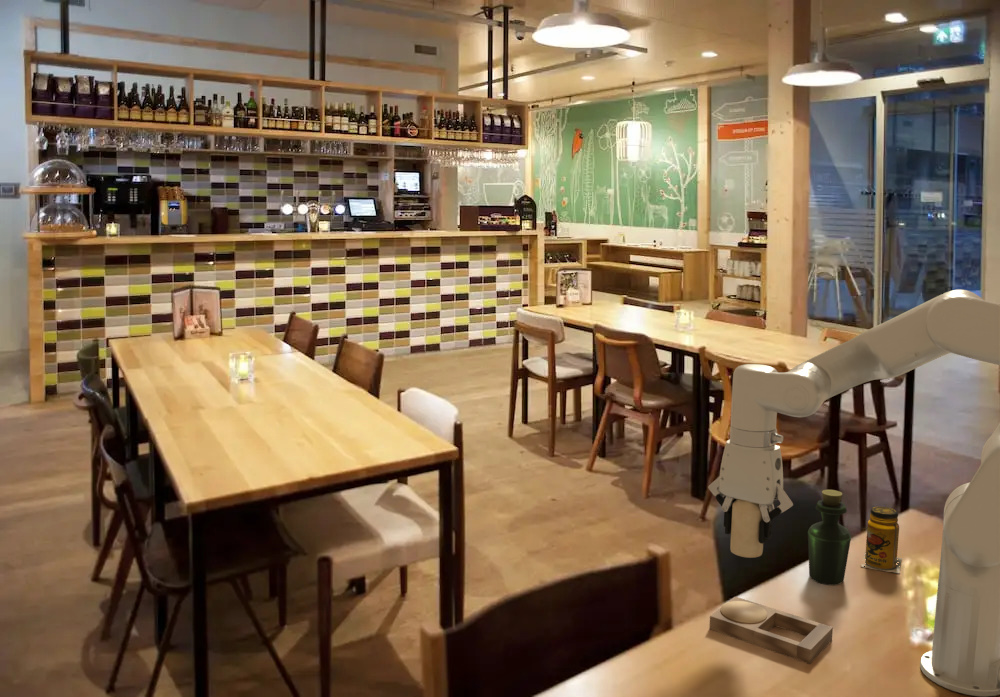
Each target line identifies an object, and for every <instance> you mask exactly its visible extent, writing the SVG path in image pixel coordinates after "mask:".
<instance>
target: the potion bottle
mask: <svg viewBox="0 0 1000 697" xmlns="http://www.w3.org/2000/svg"><path fill="white" fill-rule="evenodd" d="M821 496H822V499H820V500H818V501H817V503H816V505H815V507H814V508H815V509H816V510H817V511H818V512H820V515H821V518H822V519H821V520H822V521H819V522H816V523H813V524H811V526H810V527H809V528H808V531H807V541H808V543H807V545H808V547H807V548H808V575H809V577H810V578H811V580H812V581H815V582H816V583H818V584H822V585H827V586H835V585H836V586H837V585H841V583H843V582H844V580H845V575H846V571H847V563H848V557H849V554H850V552H849V551H850V546H851V541H852V534H851V532H850V530H848V528H847V527H845V526H844V525H842V524H840V523H839V520H840V518H841V516H842V515H844V514H846V513H847V512H848V509H847V506H846V504H845V503H844V502H841V501H842V497H843V492H841V491H839V490H835V489H823V490H821Z"/></svg>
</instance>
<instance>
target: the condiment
mask: <svg viewBox="0 0 1000 697" xmlns="http://www.w3.org/2000/svg"><path fill="white" fill-rule="evenodd" d="M898 521H899V512H898V511H897V510H896V509H894V508H892V507H887V506H872V507H871V508H870V514H869V520H868V521H867V526H866V529H867V530H866V539H865V540H866V541H865V542H866V544H865V551H864V554H863V558H862V560H863V559H866V560H865V563H866V564H862V563H861V565H860V567H862V568H867V569H871V570H875V571H880V572H881V571H882V572H888V573H889V572H890V573H895V574H900V571H901V566H902V560H903V559H902V557H898V550H899V549H898V548H899V538H900V537H899V534H900V525H899V523H898ZM865 553H866V554H865ZM864 556H865V558H864ZM897 559H898V560H897ZM897 562H899V563H897ZM896 563H897V564H898V565H896ZM864 565H865V567H864ZM899 566H900V567H899Z"/></svg>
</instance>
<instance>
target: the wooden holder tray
mask: <svg viewBox="0 0 1000 697" xmlns="http://www.w3.org/2000/svg"><path fill="white" fill-rule="evenodd" d="M774 627H777V628H781V629H784V630H786V631H790V632H793V633H796V634H799V635H803V636H805V637H804V638H803V639H802V640H801V641H799V640H795V639H791V638H789V637H785V636H782V635H780V634H776V633H773V632H770V631H771V630H772V628H774ZM709 630H712V631H715V632H717V633H720V634H722V635H726V636H728V637H731V638H734V639H736V640H739V641H743V642H745V643H749V644H752V645H754V646H757V647H760V648H763V649H766V650H769V651H771V652H774V653H777V654H780V655H783V656H786V657H789V658H791V659H794V660H797V661H800V662H803V663H806V664H809V665H810V664H811V663H812V662H814V660H815V659H816V658H817V657H818V656H819V655H820V654H821V653H822V651H823V650H825V648H827V647H828V646H829V645H830V644H831V643H832V641H833V634H834V632H833V630H834V627H833V626H830V625H827V624H823V623H820V622H817V621H814V620H811V619H807V618H805V617H802V616H798V615H794V614H793V613H792V614H791V613H789V612H785V611H782V610H780V609H776V608H773V607H770V606H766V605H763V604H761V603H757V602H754V601H751V600H747V599H745V598H741V597H738V596H734V597H733V598H732V599H730V600H729V601H727V602H725V603H723V604H721V606H720V608H718V609H717V610H716V611H714V612H712V614H710V616H709Z"/></svg>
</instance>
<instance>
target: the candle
mask: <svg viewBox="0 0 1000 697" xmlns="http://www.w3.org/2000/svg"><path fill="white" fill-rule="evenodd" d="M762 519H763V517H762V513H761V510H760V506H759V504H755V503H750V502H747V501H742V500H738V499H737V500H736V501H735V502H734V503H733V506H732V524H731V533H730V548H729V549H730V552H731V553H732V554H734V555H736V556H738V557H742V558H747V559H748V558H749V559H751V558H759V557H761V556H762V555H763V551H764V543H763V544H762V543H759V524H760V521H761V520H762Z"/></svg>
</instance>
